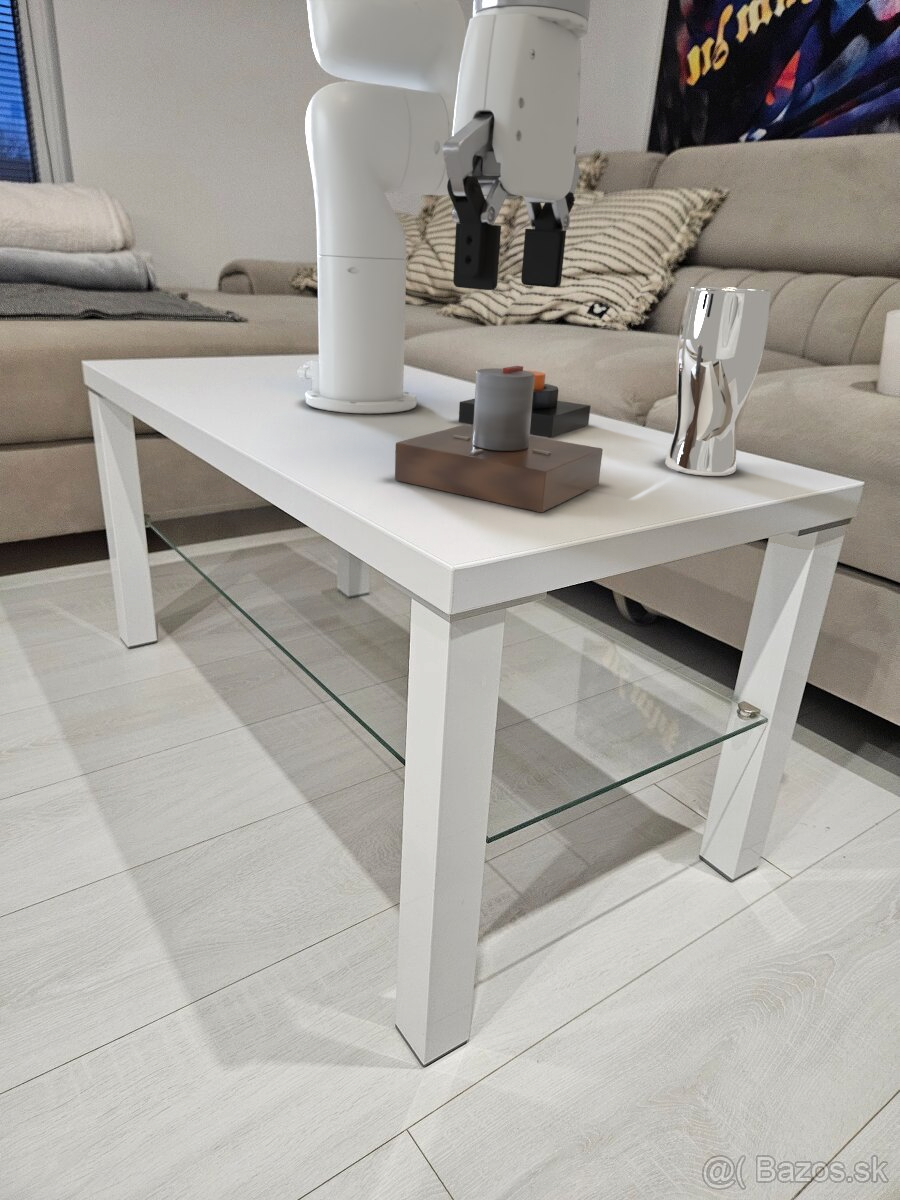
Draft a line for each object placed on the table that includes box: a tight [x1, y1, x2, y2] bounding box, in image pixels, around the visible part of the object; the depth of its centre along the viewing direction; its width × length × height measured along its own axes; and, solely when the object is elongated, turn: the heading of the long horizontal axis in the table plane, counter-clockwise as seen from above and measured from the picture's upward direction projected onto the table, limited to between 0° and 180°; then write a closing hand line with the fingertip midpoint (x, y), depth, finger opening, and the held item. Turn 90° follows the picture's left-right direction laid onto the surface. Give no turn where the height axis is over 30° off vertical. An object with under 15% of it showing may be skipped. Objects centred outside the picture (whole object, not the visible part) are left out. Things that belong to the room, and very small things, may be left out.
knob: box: [472, 365, 535, 451], centre depth 63 cm, size 4×4×6 cm
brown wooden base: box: [394, 424, 604, 514], centre depth 65 cm, size 13×10×3 cm
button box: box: [458, 383, 591, 439], centre depth 88 cm, size 11×9×4 cm
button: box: [527, 370, 546, 390], centre depth 87 cm, size 4×4×2 cm
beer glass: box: [664, 285, 773, 477], centre depth 70 cm, size 7×7×15 cm
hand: (509, 287), depth 60 cm, fingers open, 9 cm apart
